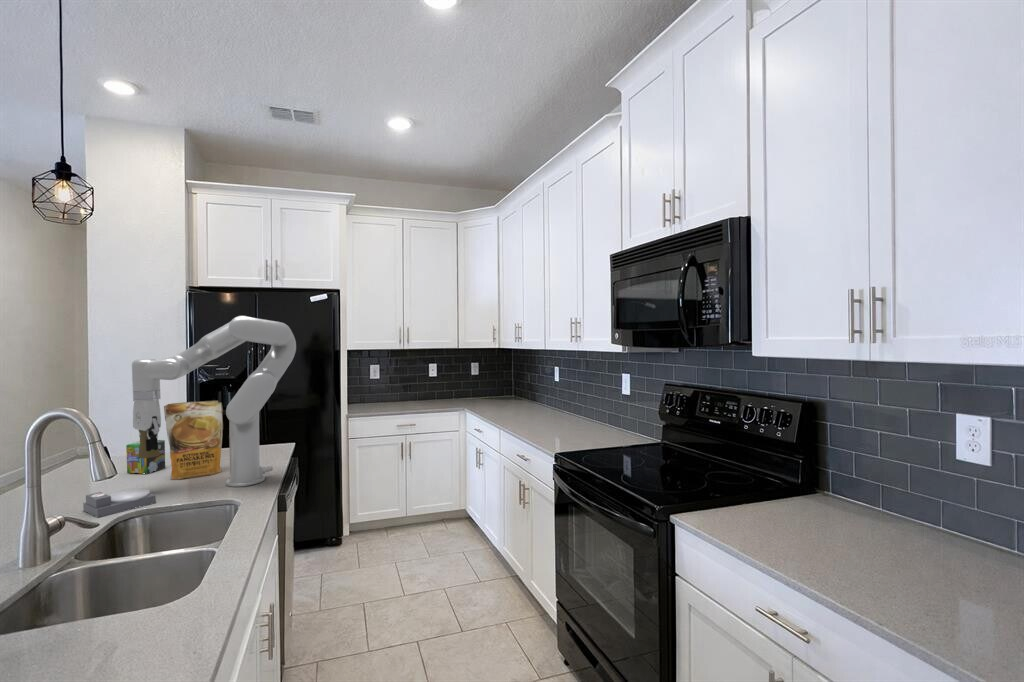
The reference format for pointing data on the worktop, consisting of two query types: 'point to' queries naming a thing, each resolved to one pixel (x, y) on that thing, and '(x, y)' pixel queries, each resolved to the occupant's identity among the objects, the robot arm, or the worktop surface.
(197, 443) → the pancake mix bag
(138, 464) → the chalk box
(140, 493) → the kitchen scale
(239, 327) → the robot arm
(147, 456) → the cork
